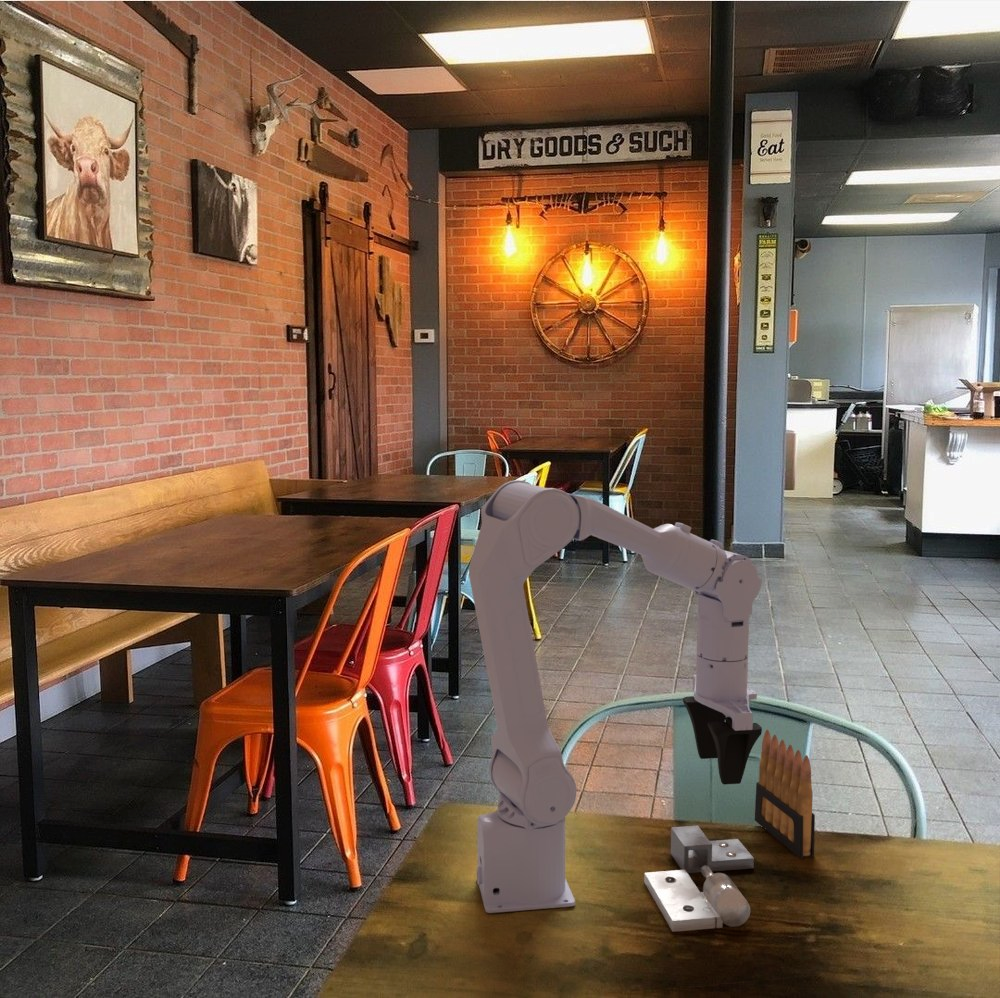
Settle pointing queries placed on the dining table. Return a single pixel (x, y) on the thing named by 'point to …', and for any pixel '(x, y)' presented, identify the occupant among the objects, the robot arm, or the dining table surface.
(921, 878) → the dining table surface
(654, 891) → the fixed leaf
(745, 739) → the robot arm
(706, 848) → the loose leaf
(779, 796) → the ammunition clip
